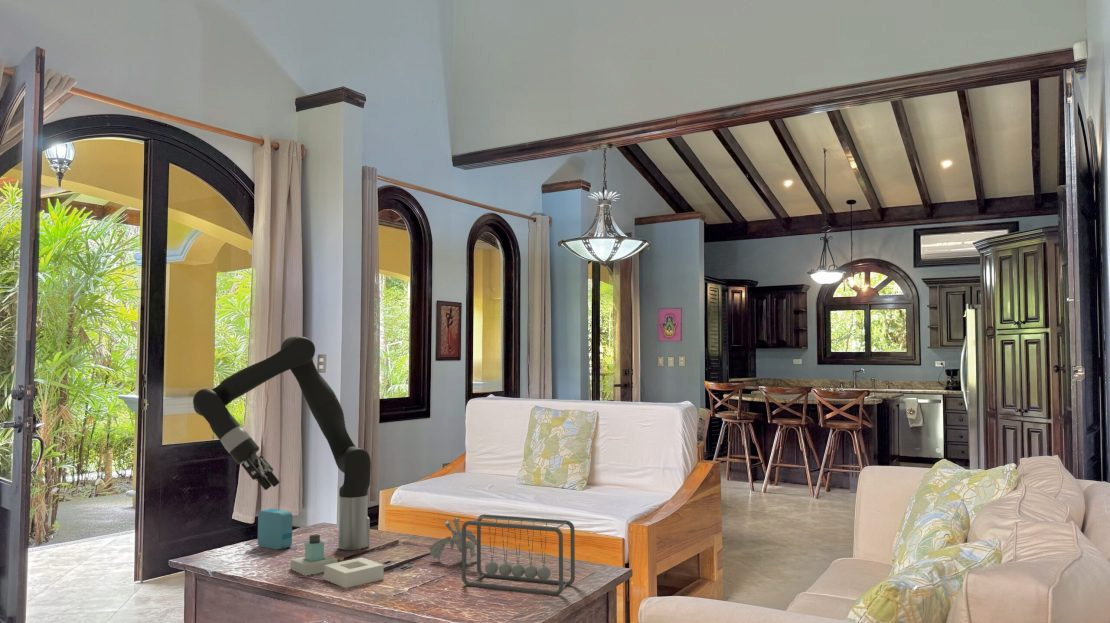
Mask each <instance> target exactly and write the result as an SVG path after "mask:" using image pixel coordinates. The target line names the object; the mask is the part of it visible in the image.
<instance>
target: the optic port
mask: <svg viewBox="0 0 1110 623" xmlns="http://www.w3.org/2000/svg"><path fill="white" fill-rule="evenodd" d="M384 565H385V564H382V563H380V562H376V561H373V560H370V559H367V558H365V557H362V556H361V557H357V558H353V559H348V560H343V561H339V562H337V563H333V564H328V565H324V572H323V573H324V576H323V580H324V579H325V581H326V582H329V581H330V582H329V583H332V584H335V585H337V586H339V587H341V588H344V589H348V588H352V587H356V586H362V585H365V584H369V583H374V582H376V581H377V582H378V581H382V580H384V579H385V578H384V574H385V573H384V568H385V567H384Z"/></svg>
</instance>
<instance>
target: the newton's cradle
mask: <svg viewBox="0 0 1110 623" xmlns="http://www.w3.org/2000/svg"><path fill="white" fill-rule="evenodd" d="M483 519H487V520H488V519H489V520H492V521H482V520H483ZM498 520H500V521H507V523H506V522H498ZM494 521H495V522H494ZM510 521H513V522H517V523H510ZM522 522H525V523H529V524H523V523H522ZM531 523H541V524H544V525H536V524H531ZM548 524H555V525H558V526H548ZM564 525H567V526H568V527H569V529H570V580H564V535H563V532H562V530H561V529H560V527H562V526H564ZM468 526H476V540H477V542H476V543H477V545H476V552H477V554H476V571H477V574H478V575H479V577H477V578H475V579H474V580H472V581H470V580H469V581H468V579H467V575H466V574H467V558H466V541H467V538H466V530H467V527H468ZM481 527H489V528H488V529H489V530H488V531H489V533H491V527H493V528H495V530H494V535H497V534H496V531H497V528H501V533H502V534H501V535H502V536H501V537H504V532H503V530H504V528H505V529H507V532H510V530H509V529H514V530H516V529H518V530H520V531H519V532H520V533H519V540H521V538H522V537H521V536H522V530H526V532H527V534H529V530H531V531H532V536H534V532H535V531H539V532H540V535H542V532H543V531H544V532H545V533H547V532H554V533H556V534H557V535H558V580H555V579H549V578H550V576H551V574H552V572H551V569H550V567H549V566H547V565H545V563H546V561H545V560H546V554H543V552H541V559H542V561H543V564H542V565H540V566H539V567H538V568H537V566H536V565H534V564H533V556H531V553H530V550H528V554H529V556H528V557H529V559H530V562H529V564H528V565H526V566H524V565H523V564H522V563H520V559H519V558H516V563H514V564H513V565H512V564H511V563H510V562H508V561H507V557H508V556H507V555H508V550H506V552H503V557H504V558H503V560H504V561H503V562H502V563H500V565H499V564H498V563H497V562H496V561H495V560H494V557H493V556H490V560H488V561H487V563H486V564H485V565H484V570H485V572H484V571H482V568H481V567H482V562H481V560H482V550H481V549H482V548H481V546H482V545H481V544H482V541H481V540H482V531H481V529H482V528H481ZM461 531H462V553H461V581H462V582H463V584H464V585H466V586H468V587H476V588H485V589H495V590H502V591H512V592H521V593H528V594H529V593H531V594H539V595H549V596H559V595H561V593H563V591H564V587H566V586H568V587H569V586H572V584H574V582H575V579H576V570H575V569H576V567H575V566H576V559H575V558H576V556H575V554H576V552H575V549H576V548H575V546H576V545H575V544H576V543H575V539H576V538H575V531H576V530H575V525H574V524H573V522H571V521H570V520H568V519H567V520H565V519H551V518H542V517H541V518H538V517H525V516H512V515H511V516H510V515H499V514H498V515H497V514H481V515H479V516H478V518H475V519H474V520H466V521H465V522H464V523H463V524H462V527H461ZM514 537H515V538H514V539H515V540H514V541H515V542H517V536H516V533H514ZM506 540H507V541H506V546H508V542H509V541H508V540H509V536H507V539H506ZM495 541H496V537H494V541H493V545H495V543H496V542H495ZM504 541H505V540H502V545H503V549H505V545H504ZM527 542H528V546H530V541H529V537H527ZM542 542H543V541H542V539H540V543H541V544H540V545H541V548H543V543H542ZM546 543H547V538H545V541H544V549H546V546H547V544H546ZM489 544H490V546H489V547H490V548H489V549H490V550H493V551H492V555H494V551H495V547H493V549H492V543H491V538H489ZM531 546H532V547H531V551H533V550H534V540H532V545H531ZM518 547H519V549H517V548H518ZM518 547H517V546H515V551H516V555H520V550H521V544H519V545H518ZM543 555H544V556H543ZM498 572H499V574H498ZM523 575H524V576H523ZM537 577H538V578H537ZM482 578H491V579H498V580H499V579H502V580H510V581H511V580H512V581H521V582H529V583H536V584H548V585H549V584H550V585H558V589H557V590H551V589H549V590H548V589H540V588H530V587H521V586H512V585H506V584H505V585H503V584H502V585H501V584H494V583H493V584H492V583H484V582H477V581H478V580H480V579H482Z"/></svg>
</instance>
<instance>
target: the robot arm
mask: <svg viewBox="0 0 1110 623" xmlns="http://www.w3.org/2000/svg"><path fill="white" fill-rule="evenodd" d="M315 353H316V346H315V344H314V342H313V341H312V340H311V339H310V338H308V337H305V336H290V337H287V338H285V339H284V340H283V342H282V343H281V346H280V350H279V351H277V352H276V353H274V354H272V355H271V356H269V357H268V358H265V359H262V360H261V361H259V362H256V363H254V364H251V365H249V366H247V367H244V368H242V369H240V370H239V371H237V372H235V373H233V374H231V375H229V376H228V377H226V378H225V379H223V380H222V381H221V382H220V383H219V384H218V385H217V386H215V387H214V388H212V389H210V388H203V389H199V390H198V391H197V392H196V393H195V394H194V396H193V398H192V403H193V410H194V412H195V413H196V414H197V415H199V416H201V417H203V418H204V419H205V421H206V422H207V423H208V424H209V427H210V429H211V431H212V432H213V434H214V435H215V436H216V437H217V439H218V440H219V441H220V442H221V445H222V446H223V448H224V449H225V450H226V451H227V452H228V454H229V455H230V456H231V457H232V459H233V460H234V461H235V462H236V464H238V465H241V467H242V468H243V469H244V471H246V473H247V474H248V476H249V477H250V478H251V479H252V480H253V481H254V480H255V481H257V482H258V483H259V484H260V486H261V487H262V488H263V490H265V491H266V490H267V491H268V489H270V488H271V487H273V488H274V487H277V485H279V484H280V480H279V479H278V478H277V477H276V475H275V474H274V468H273V467H272V465H270V463H269V462H268V460H266V459H265V458H264V456H263V455H260V456H258V455H257V453H258V452H259V451H260V447H259V445H258V444H257V443H256V441H255V440H253V438H252V436H251V435H250V434H249V433H248V432H247V430H246V429H245V428H244V427H242V425H241V424H240V423H239V421H238V420H236V418H235V417H234V415H232V414H231V413H230V411H229V410H228V408H227V405H229V404H230V403H231V402H232V401H234V400H236V399H238V398H240V397H242V396H243V395H245V394H247V393H248V392H249V393H250V391H252V390H254V389H256V388H257V387H259V386H260V385H262V384H264V383H265V382H267V381H269V380H272V379H273V378H275V377H277V376H278V375H280V374H282V373H285V372H287V371H289V370H290V371H291V373H292V374H293V376H294V377H295V379H296V381H297V383H298V386H299V387H300V390H301V393H302V396H303V397H304V399H305V401H306V403H307V405H308V408H309V410H310V412H311V413H312V416H313V418H314V420H315V421H316V422H317V423H316V424H317V425H318V427H319V428H320V431H321V432H322V434H323V436H324V438H325V439H326V441H327V443H328V445H329V447H330V450H331V453H332V456H333V459H334V462H335V465H336V467H337V468H338V469H339V470H340V472H342V473H344V476H343V483H342V486H340V487H339V490H338V491H339V492H338V494H339V497H338V498H339V500H338V549H339V550H341V549H342V551H357V549H358V550H362V548H363V549H366V548H367V547H370V540H371V538H370V537H371V536H370V532H371V531H370V529H371V528H370V526H371V524H370V521H371V519H370V517H369V516H368V495H369V494H368V492H369V487H370V484H371V472H372V470H371V467H372V461H371V456H370V453H369V452H368V451H367V450H366V449H365V448H362V447H357V446H356V445H355V444H354V441H353V440H352V439H351V437H350V435H349V432H348V431H347V427H346V421H345V415H344V410H343V407H342V405H341V403H340V401H339V399H338V397H337V395H336V393H335V391H334V390H333V389H332V387H331V386H330V385H329V384H328V382H327V381H326V380H325V378H324V377H323V376H322V375H321V374H320V372H319V370H318V369H317V367H316V365H315V363H314V361H313V358H314V356H315V355H316V354H315Z"/></svg>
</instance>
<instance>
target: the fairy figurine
mask: <svg viewBox="0 0 1110 623" xmlns="http://www.w3.org/2000/svg"><path fill="white" fill-rule="evenodd" d="M452 522H453V524H454V527H455V529H454V528H453V527H452V523H451V522H450V520H449V519H448V520H445V522H444V526H445V527H446V528H447V529H448V530H449V532H451V535H452V536H445V537H444V538H441V539H439V540H437V541H435V542H434V543H432V544H431V545H430V546H429V547H428V550H429V555H432V557H433V558H432V559H433V560H434V559H437V561H441V556H442V554H443V551H444V549H445V547H446V546H447V544H448V543H449V545H450V548H451V550H452V551H453V550H454V546H455V545H454V544H456V548H457V550H458V551H459V552H460V553H461V554H462V528H461V526H460V524H459V523H460V518H459V517H457V518H453V519H452ZM466 539H468V540H466V559H467V558H468V557H467V556H468V550H469V555H470V559H473V557H475V556H477V551H475V547H476V546H477V537H476V535H475V534H474V533H473V531H472V530H470V529H466Z"/></svg>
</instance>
